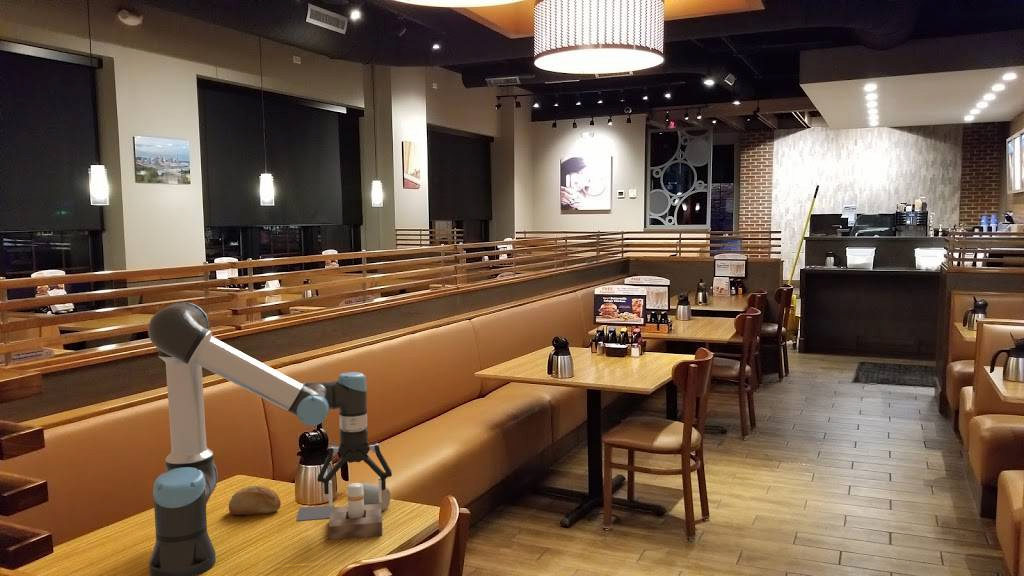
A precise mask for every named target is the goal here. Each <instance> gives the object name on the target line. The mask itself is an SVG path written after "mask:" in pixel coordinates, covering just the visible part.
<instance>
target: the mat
mask: <svg viewBox="0 0 1024 576" xmlns="http://www.w3.org/2000/svg"><path fill="white" fill-rule="evenodd" d="M332 507H335V505H334V504H332ZM332 507H329V504H328V505H318V506H317V505H316V506H315V505H314V506H305V507H304V506H303V507H299V509H298V512H297V516H296V519H295V521H296V522H304V521H315V520H316V521H317V520H330V515H331V508H332Z"/></svg>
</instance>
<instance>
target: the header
mask: <svg viewBox="0 0 1024 576" xmlns="http://www.w3.org/2000/svg"><path fill="white" fill-rule="evenodd" d="M383 533H384V531H383V515H382V511H381V504H368V505H364V518H353V519H348V505H343V506H334V507H332V508H331V515H330V519H329V524H328V541H334V540H335V541H336V540H337V541H338V540H349V539H359V538H360V539H362V538H373V537H382V536H383V535H384V534H383Z"/></svg>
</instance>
